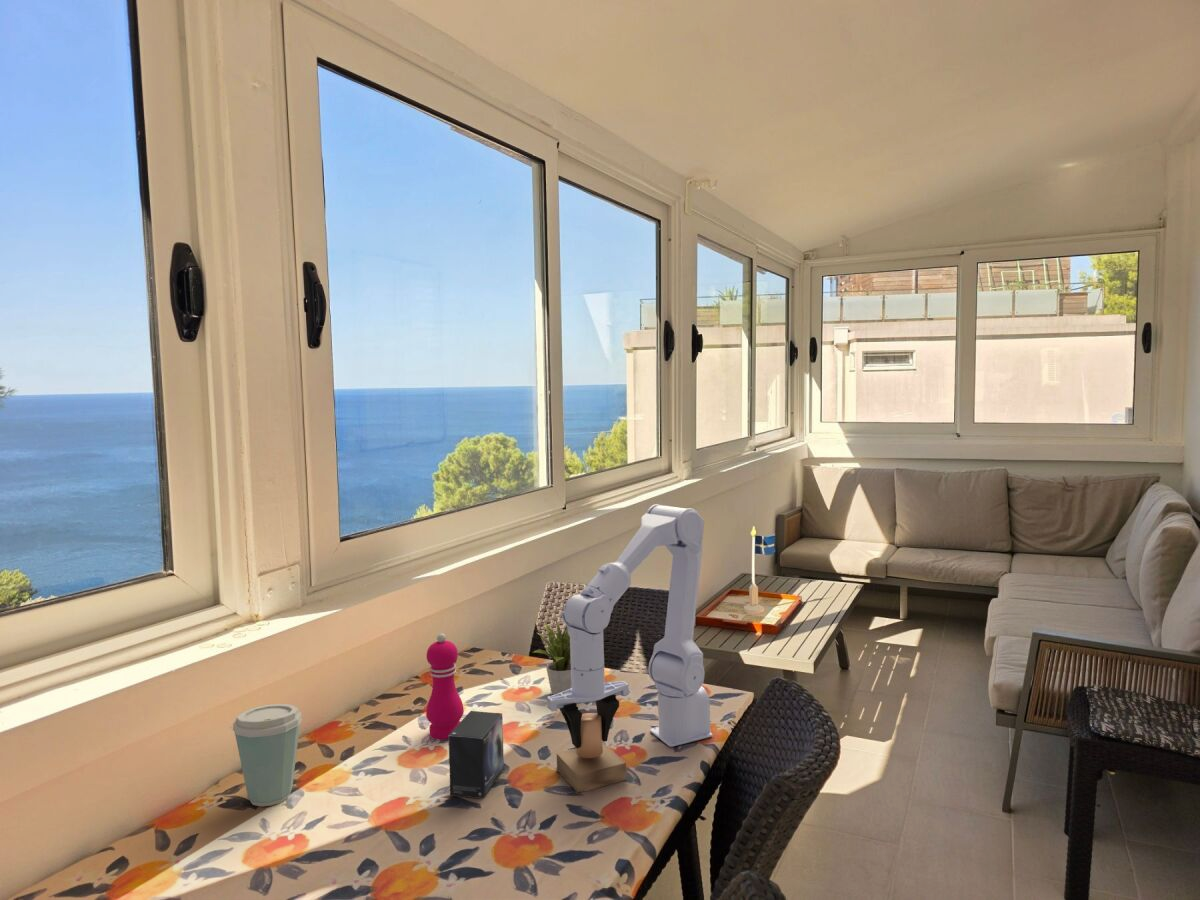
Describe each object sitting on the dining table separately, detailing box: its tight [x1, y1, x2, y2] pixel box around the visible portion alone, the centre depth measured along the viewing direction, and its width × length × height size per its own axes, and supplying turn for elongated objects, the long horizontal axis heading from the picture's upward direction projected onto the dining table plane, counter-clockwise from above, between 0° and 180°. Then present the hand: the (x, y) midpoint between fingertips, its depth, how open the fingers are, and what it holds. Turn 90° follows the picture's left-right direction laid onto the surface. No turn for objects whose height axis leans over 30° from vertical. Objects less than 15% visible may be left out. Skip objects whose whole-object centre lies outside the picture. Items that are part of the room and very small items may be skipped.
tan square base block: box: [556, 741, 627, 794], centre depth 136 cm, size 9×9×3 cm
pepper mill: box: [425, 633, 465, 741], centre depth 154 cm, size 7×7×20 cm
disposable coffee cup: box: [232, 703, 303, 807], centre depth 131 cm, size 11×11×15 cm
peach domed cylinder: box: [575, 712, 603, 758], centre depth 136 cm, size 5×5×6 cm
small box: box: [448, 710, 505, 799], centre depth 134 cm, size 11×6×10 cm, turn 168°
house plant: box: [533, 620, 572, 695], centre depth 171 cm, size 14×14×16 cm
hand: (590, 742), depth 136 cm, fingers closed on peach domed cylinder, 4 cm apart
